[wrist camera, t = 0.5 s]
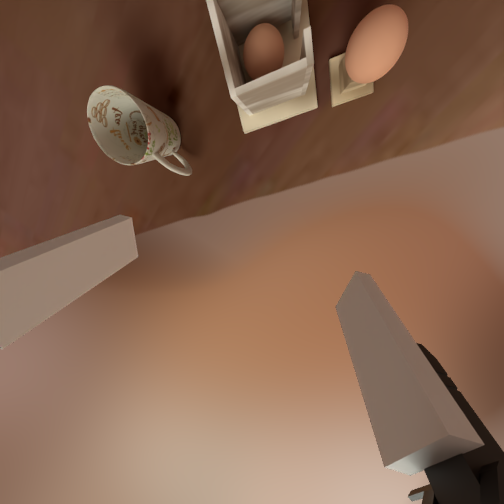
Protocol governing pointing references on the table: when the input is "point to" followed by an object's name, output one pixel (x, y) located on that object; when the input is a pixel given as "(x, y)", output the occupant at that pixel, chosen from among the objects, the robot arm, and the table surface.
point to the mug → (133, 129)
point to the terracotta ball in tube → (263, 51)
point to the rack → (275, 83)
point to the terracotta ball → (376, 44)
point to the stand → (345, 83)
